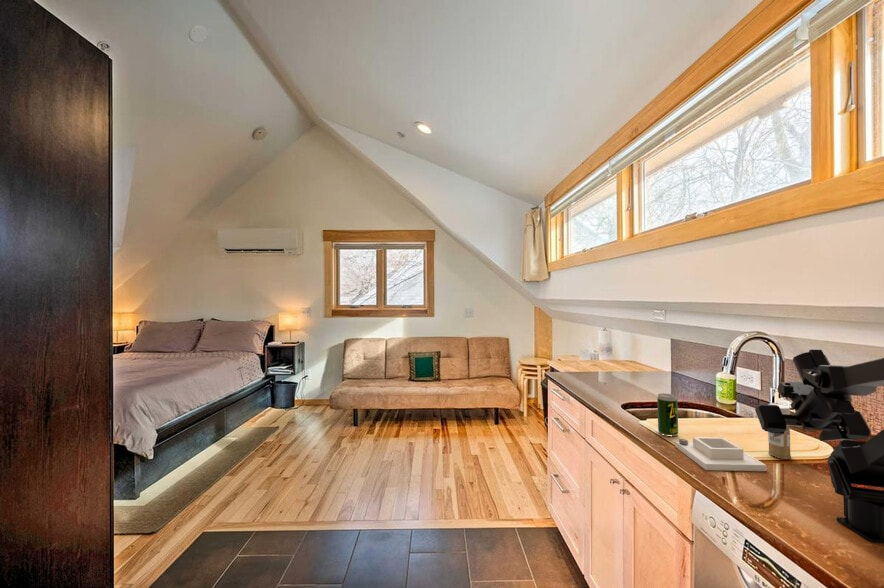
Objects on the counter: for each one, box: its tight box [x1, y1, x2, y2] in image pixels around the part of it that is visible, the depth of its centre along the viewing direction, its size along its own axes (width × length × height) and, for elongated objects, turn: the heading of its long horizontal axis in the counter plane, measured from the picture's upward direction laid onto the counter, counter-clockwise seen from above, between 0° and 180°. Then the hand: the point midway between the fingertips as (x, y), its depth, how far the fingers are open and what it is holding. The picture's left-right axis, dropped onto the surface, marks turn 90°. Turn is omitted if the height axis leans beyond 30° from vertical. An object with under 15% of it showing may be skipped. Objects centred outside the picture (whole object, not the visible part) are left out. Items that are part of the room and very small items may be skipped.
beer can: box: [656, 392, 679, 437], centre depth 115 cm, size 5×5×12 cm
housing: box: [674, 436, 768, 472], centre depth 98 cm, size 14×14×4 cm
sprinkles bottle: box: [767, 403, 792, 460], centre depth 98 cm, size 5×5×14 cm
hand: (796, 437), depth 91 cm, fingers open, 9 cm apart
